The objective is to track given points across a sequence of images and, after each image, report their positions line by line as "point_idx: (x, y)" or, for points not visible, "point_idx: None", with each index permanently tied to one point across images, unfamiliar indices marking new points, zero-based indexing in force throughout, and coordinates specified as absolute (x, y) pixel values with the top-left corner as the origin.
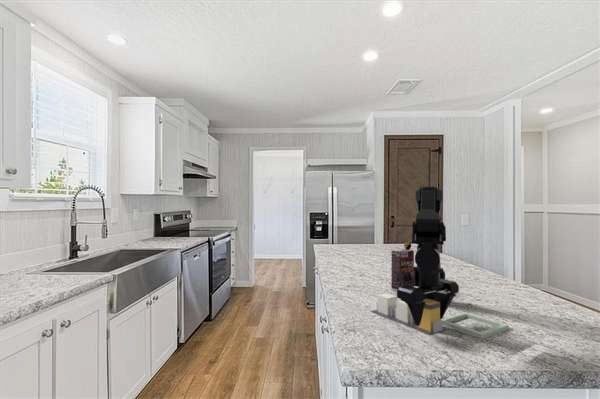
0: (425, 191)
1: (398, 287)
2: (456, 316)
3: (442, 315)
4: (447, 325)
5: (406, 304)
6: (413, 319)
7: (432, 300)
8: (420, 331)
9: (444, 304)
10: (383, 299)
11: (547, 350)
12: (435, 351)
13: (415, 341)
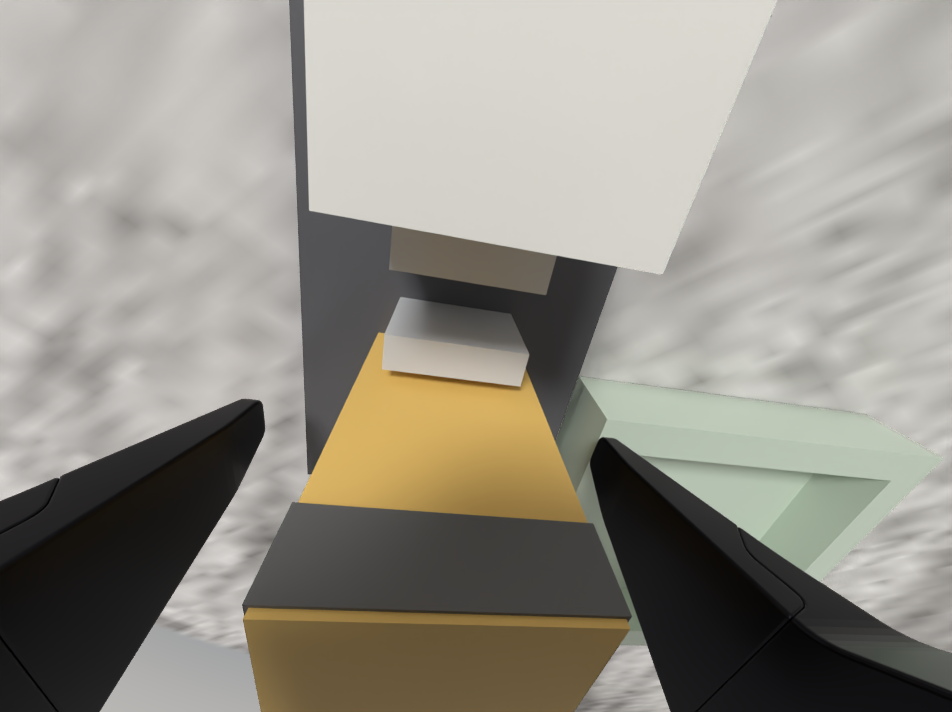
0: None
1: None
2: (785, 467)
3: (603, 505)
4: (571, 475)
5: (328, 162)
6: (187, 422)
7: (555, 708)
8: (305, 398)
9: (666, 657)
10: None
11: (617, 677)
12: (225, 515)
13: (221, 388)
